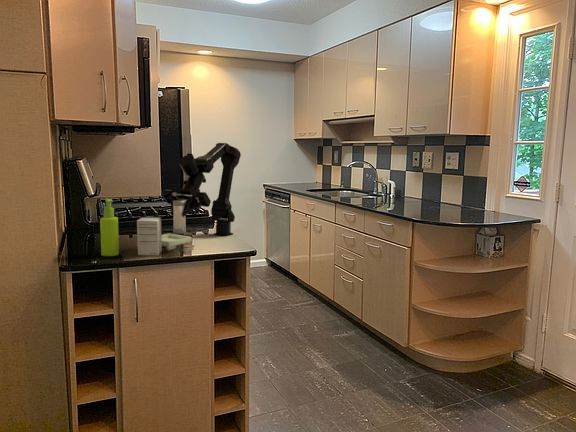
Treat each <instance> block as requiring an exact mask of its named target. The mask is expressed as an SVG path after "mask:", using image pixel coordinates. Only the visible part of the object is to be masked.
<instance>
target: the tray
mask: <svg viewBox="0 0 576 432" xmlns="http://www.w3.org/2000/svg"><path fill="white" fill-rule="evenodd" d="M161 237H162V247H166V248H167V247H169V246H172V245H176V247H177V246H181V245H185V244H189V243H192V239H193V237H192V236H186V235H183V234H182V235H181V234H175V233H165V234H161Z"/></svg>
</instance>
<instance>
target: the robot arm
mask: <svg viewBox="0 0 576 432" xmlns="http://www.w3.org/2000/svg"><path fill="white" fill-rule="evenodd" d="M241 155H242V153H241V151H240V150H239V148H237V147H234V146H232V145H230V144H229V143H227V142H217V143H216V144H215V146H214V147H212V149H210V150H209V151H208V152H206V154H204V155H201V156H198V157H195V158H194V155H193V153H186V155H183V156H182V157H180V158H179V160H178V165H179V166H180V168H181V170H182V172H183V173H184V175H185V176H186V177H187V176H188V177H187V179H186V180H183V187H182V188H179V189H178V192H179V193H177V192H175V191H174V190H173V189H163V191H162V192H161V196H162V198H163V200H164V201H165V202H166V203H167V204H168V205H170V216H173V201H174V200H185V201H186V204H185V207H184V210H183V213H182V216H183V217H184V216H185V215H188V214H189V213H190V212H191V211H197V212H198V211H199V209H201V208H202V207H205V208H206V207H207V208H209V207H210V205H211V201H212V200H211V199H210V196H209V195H208V193H207V192H203V191H201V189H200V187H201V186H202V184H203V183H207V179H206V176H205V175H204V174H210V173H211V171H213V169H214V167H215V166H214V164H215V163H216V162H217V161H218V160H219V159H220V162H221V164H222V174H221V178H220V185H219V189H218V196H217V198H216V200H215V199H213V201H212V205H211V211H210V214H211V218H212V222H216V223H215V232H213V235H215V236H216V235H217V236H221V237H226V236H227V237H228V236H231V235H233V234H234V232H231V228H232V227H231V225H232V222H233V223H234V222H235V218H236V217H235V214H234V212H233V210H232V204H231V201H230V197H231V196H230V195H231V189H232V184H233V178H234V177H233V176H234V171H235V168H236V167H237V166H238V164H239V163H240V158H241Z"/></svg>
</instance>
